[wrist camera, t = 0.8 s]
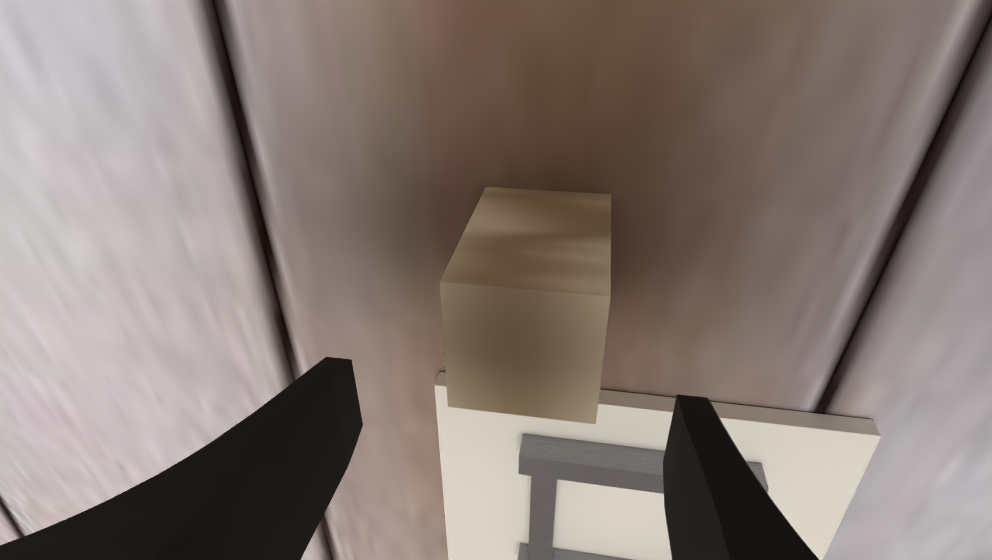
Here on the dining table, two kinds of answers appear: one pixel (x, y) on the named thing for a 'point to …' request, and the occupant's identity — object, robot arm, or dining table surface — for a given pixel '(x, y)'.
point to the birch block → (529, 304)
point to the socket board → (626, 476)
